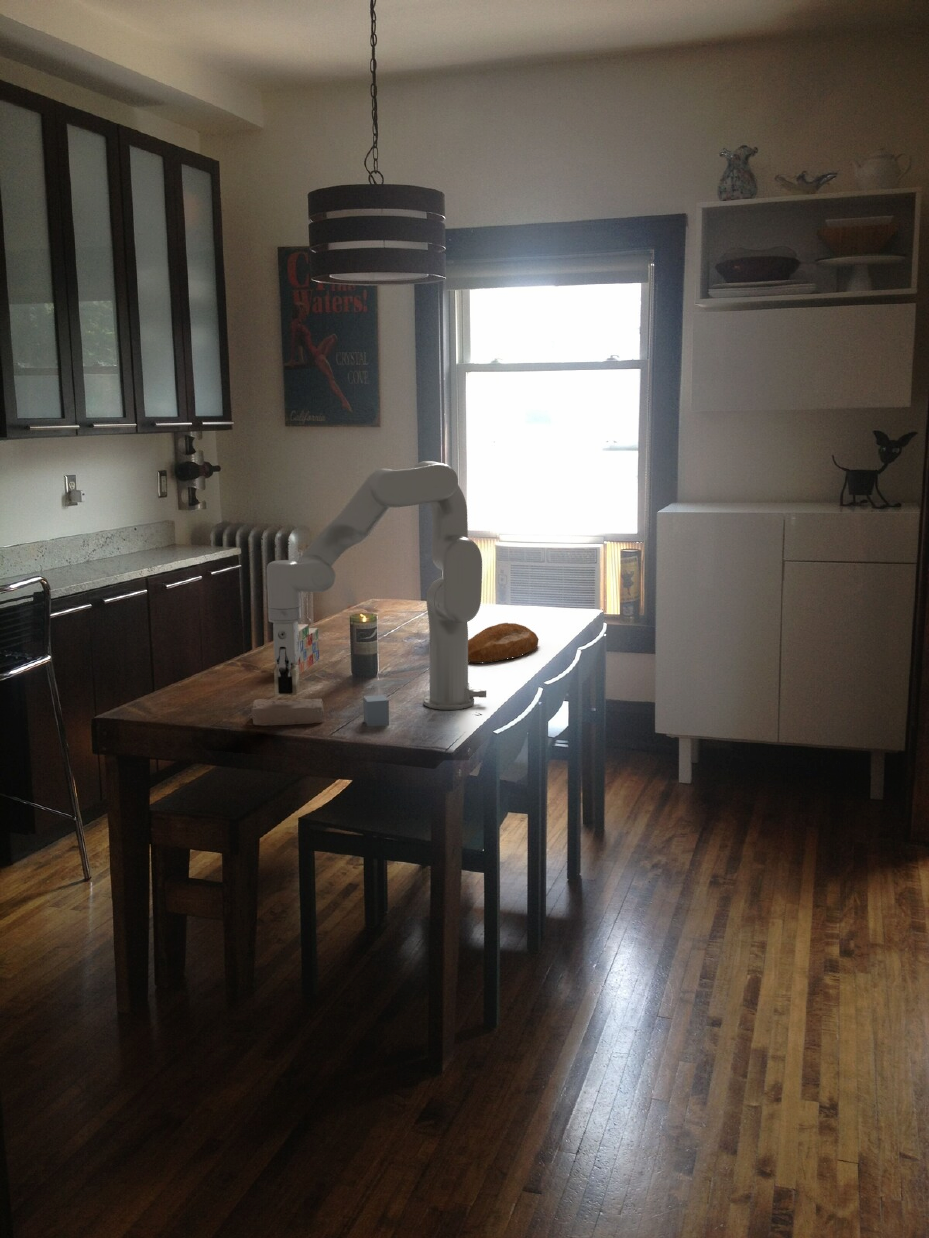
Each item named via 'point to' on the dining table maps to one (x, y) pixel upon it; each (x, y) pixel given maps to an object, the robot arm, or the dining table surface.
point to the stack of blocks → (307, 647)
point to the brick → (287, 712)
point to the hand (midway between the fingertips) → (287, 689)
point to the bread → (501, 643)
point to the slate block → (376, 710)
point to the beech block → (294, 679)
